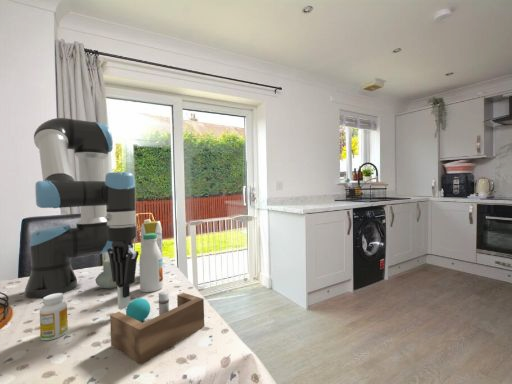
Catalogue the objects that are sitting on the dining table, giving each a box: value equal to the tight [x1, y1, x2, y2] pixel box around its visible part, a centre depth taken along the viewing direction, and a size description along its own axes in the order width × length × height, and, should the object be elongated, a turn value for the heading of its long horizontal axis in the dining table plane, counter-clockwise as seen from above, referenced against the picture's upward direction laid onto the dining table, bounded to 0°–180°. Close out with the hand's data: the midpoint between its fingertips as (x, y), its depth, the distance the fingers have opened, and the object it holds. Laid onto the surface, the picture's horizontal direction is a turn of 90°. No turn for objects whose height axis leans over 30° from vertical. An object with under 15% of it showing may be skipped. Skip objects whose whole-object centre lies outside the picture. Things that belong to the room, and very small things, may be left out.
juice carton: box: [140, 218, 164, 268], centre depth 108 cm, size 9×8×24 cm
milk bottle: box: [139, 233, 164, 293], centre depth 94 cm, size 8×8×20 cm
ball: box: [125, 297, 151, 322], centre depth 70 cm, size 6×6×6 cm
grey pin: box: [158, 290, 170, 316], centre depth 67 cm, size 2×2×8 cm
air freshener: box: [95, 258, 118, 289], centre depth 98 cm, size 11×8×10 cm
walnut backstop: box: [109, 292, 205, 365], centre depth 62 cm, size 12×18×7 cm
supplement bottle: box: [39, 292, 69, 341], centre depth 64 cm, size 5×5×10 cm
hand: (124, 307), depth 74 cm, fingers closed
